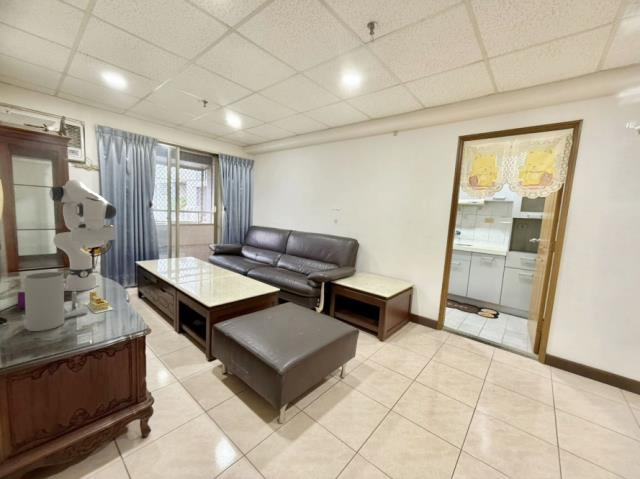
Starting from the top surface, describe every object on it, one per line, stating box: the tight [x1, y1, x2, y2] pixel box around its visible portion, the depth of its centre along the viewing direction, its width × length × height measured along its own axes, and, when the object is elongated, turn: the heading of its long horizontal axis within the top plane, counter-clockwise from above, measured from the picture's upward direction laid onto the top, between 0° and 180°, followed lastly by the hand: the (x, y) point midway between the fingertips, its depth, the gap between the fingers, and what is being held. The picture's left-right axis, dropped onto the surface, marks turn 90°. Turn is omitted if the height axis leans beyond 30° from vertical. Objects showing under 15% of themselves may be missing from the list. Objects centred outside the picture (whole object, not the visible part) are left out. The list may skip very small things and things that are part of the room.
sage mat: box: [83, 299, 114, 315], centre depth 148 cm, size 20×8×1 cm, turn 56°
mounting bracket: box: [17, 291, 25, 310], centre depth 144 cm, size 10×8×18 cm
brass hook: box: [89, 290, 110, 310], centre depth 149 cm, size 16×6×6 cm, turn 56°
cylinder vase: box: [23, 271, 65, 332], centre depth 121 cm, size 12×12×25 cm
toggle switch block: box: [64, 291, 89, 319], centre depth 139 cm, size 18×9×12 cm, turn 56°
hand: (93, 248), depth 151 cm, fingers open, 8 cm apart
